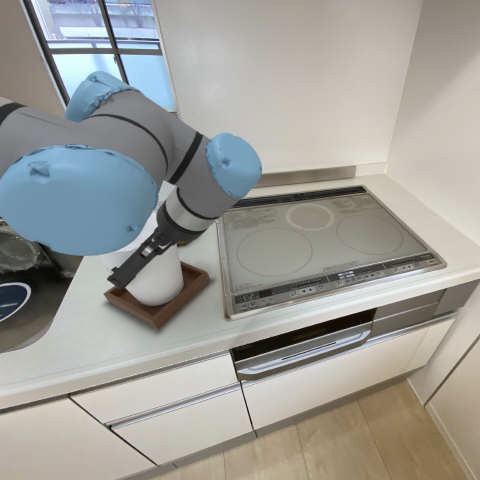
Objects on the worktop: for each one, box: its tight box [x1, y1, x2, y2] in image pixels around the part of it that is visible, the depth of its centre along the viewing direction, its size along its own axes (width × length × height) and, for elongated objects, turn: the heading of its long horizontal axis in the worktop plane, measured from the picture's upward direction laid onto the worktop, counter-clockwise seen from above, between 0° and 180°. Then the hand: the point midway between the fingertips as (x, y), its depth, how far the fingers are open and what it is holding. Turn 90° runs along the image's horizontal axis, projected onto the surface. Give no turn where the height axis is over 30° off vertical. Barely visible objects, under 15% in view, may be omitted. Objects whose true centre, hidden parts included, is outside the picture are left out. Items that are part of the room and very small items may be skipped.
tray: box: [103, 260, 211, 330], centre depth 58 cm, size 15×15×3 cm
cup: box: [97, 211, 184, 306], centre depth 54 cm, size 13×13×17 cm
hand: (145, 260), depth 53 cm, fingers open, 13 cm apart
